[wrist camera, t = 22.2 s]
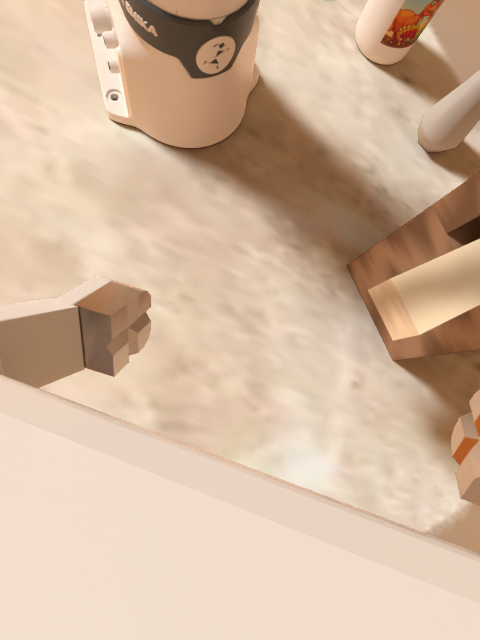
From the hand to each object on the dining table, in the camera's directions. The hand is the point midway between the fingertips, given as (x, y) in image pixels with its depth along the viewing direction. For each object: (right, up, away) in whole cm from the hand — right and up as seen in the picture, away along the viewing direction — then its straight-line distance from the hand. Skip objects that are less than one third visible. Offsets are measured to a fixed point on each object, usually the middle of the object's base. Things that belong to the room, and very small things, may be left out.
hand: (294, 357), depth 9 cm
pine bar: (+19, +6, +20) cm, 29 cm away
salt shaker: (+24, +24, +40) cm, 52 cm away
